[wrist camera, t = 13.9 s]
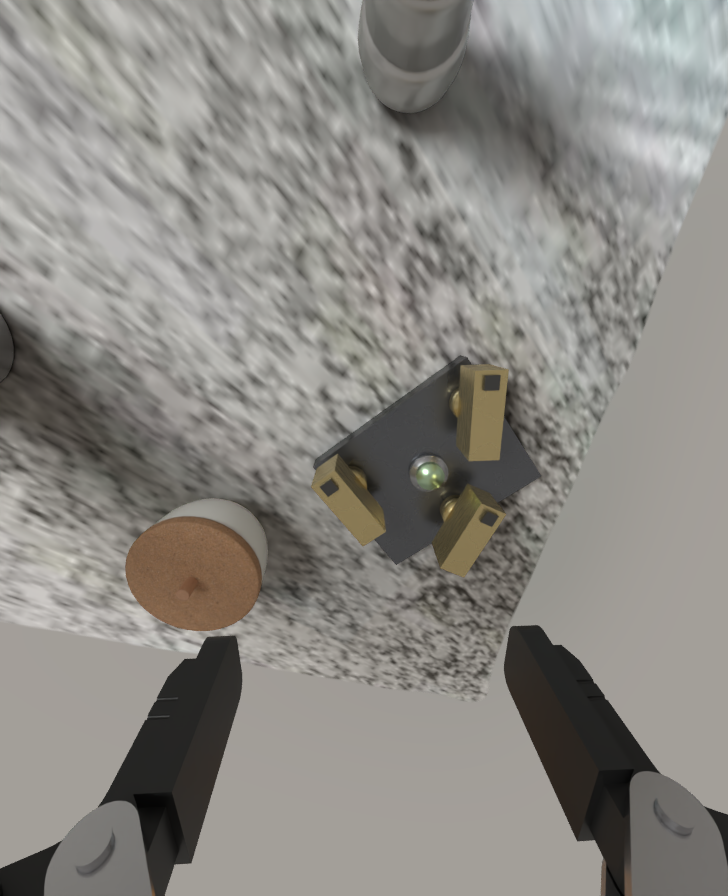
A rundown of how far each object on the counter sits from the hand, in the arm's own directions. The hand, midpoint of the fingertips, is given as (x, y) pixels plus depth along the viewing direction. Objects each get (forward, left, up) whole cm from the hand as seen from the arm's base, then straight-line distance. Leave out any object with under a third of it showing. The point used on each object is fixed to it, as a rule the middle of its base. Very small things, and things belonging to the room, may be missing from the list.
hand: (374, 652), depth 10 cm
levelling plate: (+3, -6, -23) cm, 24 cm away
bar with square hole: (+3, -10, -21) cm, 24 cm away
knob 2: (+9, -2, -21) cm, 23 cm away
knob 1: (-3, -2, -21) cm, 22 cm away
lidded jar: (-17, 0, -24) cm, 29 cm away
